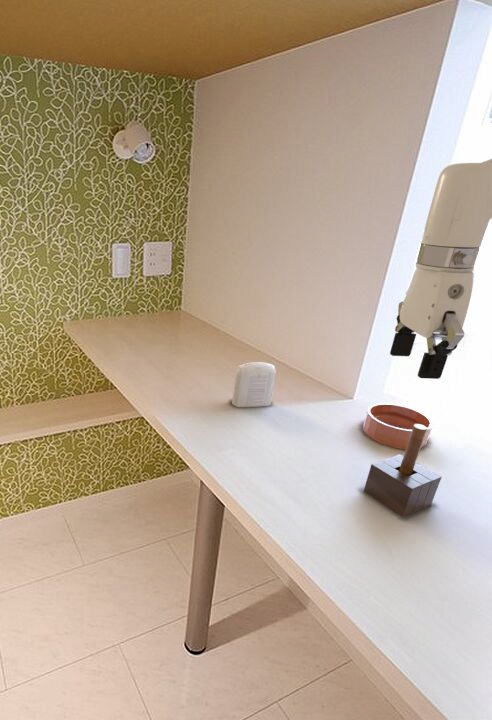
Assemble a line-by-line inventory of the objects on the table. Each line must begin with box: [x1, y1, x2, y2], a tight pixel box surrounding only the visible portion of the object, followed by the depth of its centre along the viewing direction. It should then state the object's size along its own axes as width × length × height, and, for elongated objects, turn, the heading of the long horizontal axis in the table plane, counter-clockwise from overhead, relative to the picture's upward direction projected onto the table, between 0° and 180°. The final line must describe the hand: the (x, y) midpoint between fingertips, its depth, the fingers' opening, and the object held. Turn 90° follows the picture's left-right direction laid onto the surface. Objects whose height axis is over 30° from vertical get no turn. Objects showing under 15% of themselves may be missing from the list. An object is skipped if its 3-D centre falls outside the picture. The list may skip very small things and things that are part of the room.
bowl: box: [362, 403, 434, 450], centre depth 101 cm, size 13×13×6 cm
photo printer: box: [231, 361, 276, 408], centre depth 113 cm, size 10×4×12 cm, turn 98°
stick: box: [399, 424, 427, 476], centre depth 77 cm, size 2×2×16 cm
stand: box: [363, 453, 442, 518], centre depth 79 cm, size 8×8×7 cm
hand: (413, 365), depth 71 cm, fingers open, 9 cm apart
